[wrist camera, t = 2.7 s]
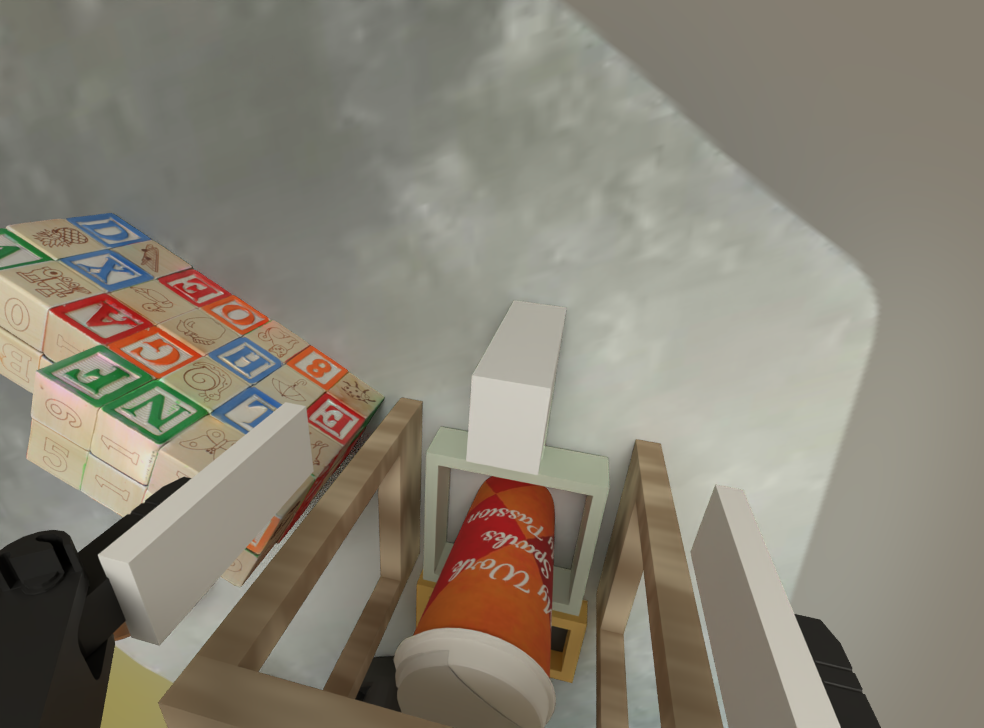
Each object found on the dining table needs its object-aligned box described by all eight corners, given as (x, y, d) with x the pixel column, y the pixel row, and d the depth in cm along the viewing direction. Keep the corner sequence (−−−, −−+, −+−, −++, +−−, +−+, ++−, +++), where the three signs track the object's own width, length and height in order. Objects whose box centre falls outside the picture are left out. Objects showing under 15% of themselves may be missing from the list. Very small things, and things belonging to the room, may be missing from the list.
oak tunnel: (616, 598, 35) (636, 1042, 17) (401, 549, 37) (231, 894, 20) (660, 443, 29) (758, 885, 11) (401, 397, 31) (158, 702, 14)
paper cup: (591, 495, 31) (588, 720, 19) (535, 560, 35) (501, 787, 22) (491, 438, 31) (421, 628, 19) (444, 509, 35) (359, 710, 22)
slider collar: (580, 580, 34) (574, 732, 25) (435, 547, 36) (382, 679, 27) (640, 317, 26) (664, 407, 16) (446, 290, 27) (371, 358, 18)
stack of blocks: (98, 286, 33) (-152, 352, 22) (113, 210, 30) (-163, 242, 19) (352, 453, 35) (237, 594, 24) (389, 396, 32) (279, 525, 21)
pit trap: (573, 658, 39) (572, 683, 37) (423, 621, 40) (415, 642, 39) (587, 600, 36) (587, 624, 34) (425, 563, 37) (416, 583, 36)
